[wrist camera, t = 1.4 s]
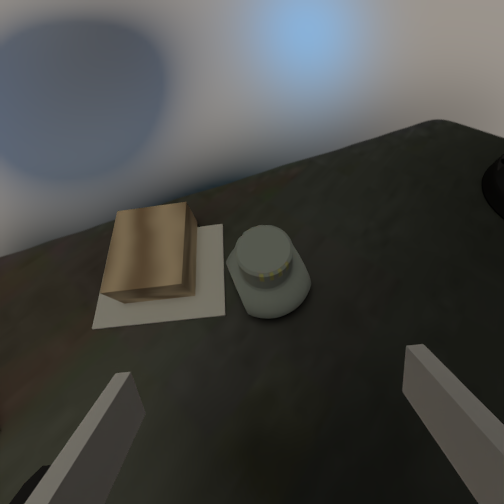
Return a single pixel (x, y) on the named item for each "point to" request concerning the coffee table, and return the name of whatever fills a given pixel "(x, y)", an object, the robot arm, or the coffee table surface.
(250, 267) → the air freshener
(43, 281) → the coffee table surface
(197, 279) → the mat
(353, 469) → the coffee table surface
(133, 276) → the base block
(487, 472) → the robot arm
